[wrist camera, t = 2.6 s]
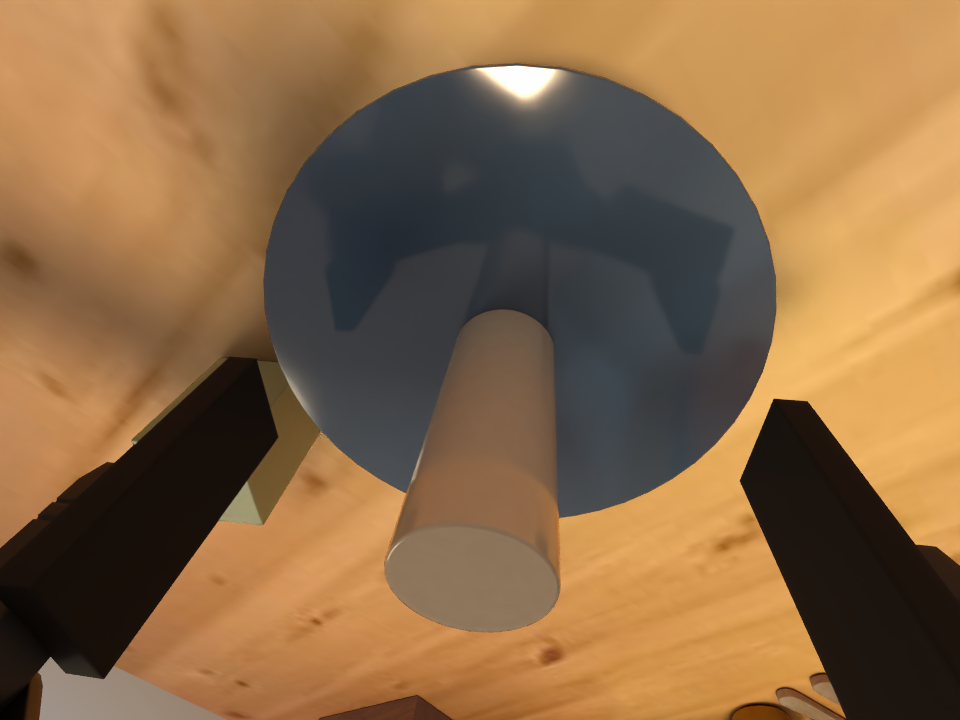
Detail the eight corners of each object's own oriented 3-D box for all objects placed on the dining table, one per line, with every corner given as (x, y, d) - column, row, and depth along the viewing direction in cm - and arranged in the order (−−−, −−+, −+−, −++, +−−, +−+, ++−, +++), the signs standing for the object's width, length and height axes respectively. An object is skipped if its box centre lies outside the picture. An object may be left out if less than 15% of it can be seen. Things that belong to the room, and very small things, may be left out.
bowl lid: (322, 479, 21) (194, 718, 14) (224, 59, 13) (-261, 60, 5) (690, 514, 20) (782, 807, 12) (852, 65, 11) (1500, 83, 4)
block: (243, 425, 30) (168, 515, 24) (220, 357, 27) (130, 440, 21) (320, 432, 29) (263, 526, 24) (305, 363, 27) (236, 450, 21)
